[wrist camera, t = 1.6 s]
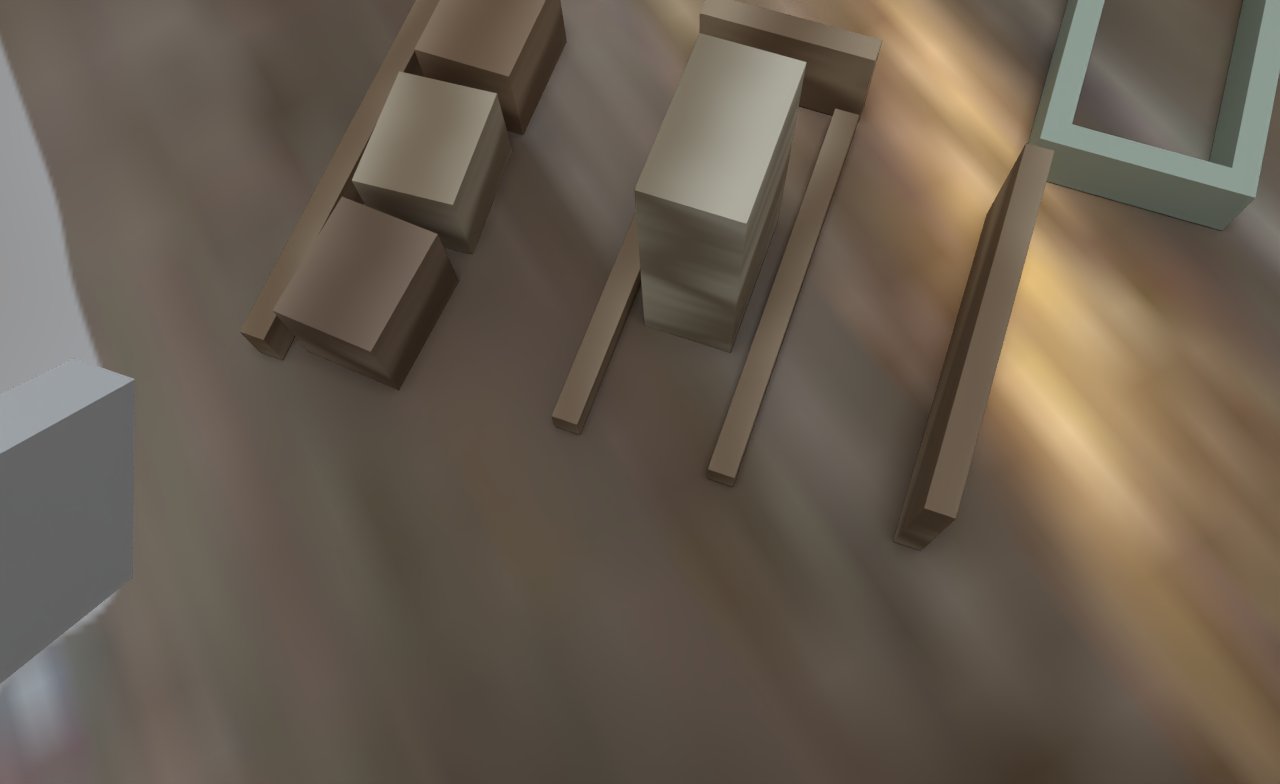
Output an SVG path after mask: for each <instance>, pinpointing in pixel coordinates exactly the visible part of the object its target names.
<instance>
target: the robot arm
mask: <svg viewBox="0 0 1280 784" xmlns="http://www.w3.org/2000/svg"><path fill="white" fill-rule="evenodd" d="M134 417H135V379H133V378H130V377H127V376H124V375H121V374H118V373H115V372H113V371H110V370H107V369H104V368H101V367H98V366H95V365H92V364H89V363H86V362H83V361H80V360H78V359H75V358H73V359H72V360H69V361H67V362H65V363H63V364H61V365H59V366H57V367H55V368H53V369H51V370H49V371H47V372H45V373H43V374H41V375H39V376H37V377H35V378H33V379H31V380H28V381H27V382H24V383H22V384H20V385H18V386H16V387H14V388H12V389H10V390H8V391H6V392H4V393H2V394H0V683H2V682H3V681H4V680H5V679H7V678H8V677H9V676H10V675H12V674H13V673H14V672H15V671H17V670H18V669H19V668H20V667H22V666H23V665H24V664H25V663H27V662H28V661H29V660H30V659H32V658H33V657H34V656H35V655H37V654H38V653H39V652H40V651H42V650H43V649H44V648H45V647H47V646H48V645H49V644H50V643H52V642H53V641H54V640H55V639H57V638H58V637H59V636H60V635H62V634H63V633H64V632H65V631H67V630H68V629H69V628H70V627H72V626H73V625H74V624H75V623H77V622H78V621H79V620H80V619H82V618H83V617H84V616H85V615H87V614H88V613H89V612H90V611H92V610H93V609H94V608H95V607H97V606H98V605H99V604H100V603H102V602H103V601H104V600H105V599H107V598H108V597H109V596H110V595H112V594H113V593H114V592H115V591H117V590H118V589H119V588H120V587H122V586H123V585H124V584H125V583H127V582H128V581H129V580H130V579H132V578H133V506H134Z"/></svg>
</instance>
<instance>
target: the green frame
mask: <svg viewBox="0 0 1280 784" xmlns="http://www.w3.org/2000/svg"><path fill="white" fill-rule="evenodd" d="M1104 1H1105V0H1068V3H1067V6H1066V10H1065V13H1064V17H1063V21H1062V24H1061V28H1060V31H1059V35H1058V39H1057V42H1056V46H1055V49H1054V53H1053V56H1052V60H1051V64H1050V67H1049V71H1048V74H1047V78H1046V82H1045V85H1044V89H1043V92H1042V96H1041V100H1040V103H1039V107H1038V110H1037V114H1036V117H1035V121H1034V125H1033V128H1032V132H1031V135H1030V139H1029V143H1028V144H1032V145H1035V146H1039V147H1042V148H1046V149H1050V150H1053V151H1054V155H1053V158H1052V162H1051V166H1050V170H1049V173H1048V177H1047V182H1051V183H1054V184H1058V185H1062V186H1065V187H1069V188H1072V189H1076V190H1079V191H1083V192H1086V193H1090V194H1094V195H1097V196H1101V197H1104V198H1108V199H1111V200H1115V201H1118V202H1122V203H1125V204H1129V205H1133V206H1136V207H1140V208H1143V209H1147V210H1150V211H1154V212H1157V213H1161V214H1164V215H1168V216H1172V217H1175V218H1179V219H1182V220H1186V221H1189V222H1193V223H1196V224H1200V225H1204V226H1207V227H1211V228H1214V229H1218V230H1221V231H1222V230H1223V229H1224V228H1225V227H1226V226H1227V225H1228V224H1229V223H1230V222H1231V221H1232V220H1233V219H1234V218H1235V217H1236V216H1237V215H1238V214H1239V213H1240V212H1242V211H1243V210H1244V209H1245V208H1246V207H1247V206H1248V205H1249V204H1250V203H1251V202H1252V201H1253V200H1254V199H1255V197H1256V192H1257V186H1258V181H1259V176H1260V171H1261V166H1262V160H1263V155H1264V150H1265V145H1266V139H1267V134H1268V129H1269V124H1270V118H1271V113H1272V108H1273V103H1274V98H1275V92H1276V87H1277V82H1278V77H1279V71H1280V0H1243V4H1242V8H1241V13H1240V18H1239V23H1238V27H1237V32H1236V37H1235V42H1234V46H1233V51H1232V56H1231V61H1230V65H1229V70H1228V75H1227V80H1226V84H1225V89H1224V94H1223V99H1222V103H1221V108H1220V113H1219V118H1218V122H1217V127H1216V132H1215V137H1214V141H1213V146H1212V151H1211V156H1210V160H1209V162H1208V161H1204V160H1201V159H1197V158H1193V157H1190V156H1186V155H1182V154H1179V153H1175V152H1171V151H1168V150H1164V149H1160V148H1157V147H1153V146H1149V145H1146V144H1142V143H1138V142H1135V141H1131V140H1127V139H1124V138H1120V137H1116V136H1113V135H1109V134H1105V133H1102V132H1098V131H1094V130H1091V129H1087V128H1083V127H1080V126H1076V125H1072V122H1073V118H1074V115H1075V111H1076V107H1077V103H1078V99H1079V96H1080V92H1081V88H1082V84H1083V80H1084V77H1085V73H1086V69H1087V65H1088V62H1089V58H1090V54H1091V50H1092V46H1093V43H1094V39H1095V35H1096V31H1097V27H1098V24H1099V20H1100V16H1101V12H1102V9H1103V5H1104Z"/></svg>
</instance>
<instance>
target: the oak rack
mask: <svg viewBox="0 0 1280 784" xmlns="http://www.w3.org/2000/svg"><path fill="white" fill-rule="evenodd" d="M439 1H440V0H416V1H415V3H414V5H413V7H412V9H411V10H410V12H409V14H408V16H407V18H406V20H405V22H404V24H403V25H402V27H401V29H400V31H399V33H398V35H397V37H396V39H395V41H394V42H393V44H392V46H391V48H390V50H389V52H388V54H387V56H386V57H385V59H384V61H383V63H382V65H381V67H380V69H379V71H378V72H377V74H376V76H375V78H374V80H373V82H372V84H371V86H370V88H369V89H368V91H367V93H366V95H365V97H364V99H363V101H362V103H361V104H360V106H359V108H358V110H357V112H356V114H355V116H354V118H353V119H352V121H351V123H350V125H349V127H348V129H347V131H346V133H345V135H344V136H343V138H342V140H341V142H340V144H339V146H338V148H337V150H336V151H335V153H334V155H333V157H332V159H331V161H330V163H329V165H328V166H327V168H326V170H325V172H324V174H323V176H322V178H321V180H320V182H319V183H318V185H317V187H316V189H315V191H314V193H313V195H312V197H311V198H310V200H309V202H308V204H307V206H306V208H305V210H304V212H303V213H302V215H301V217H300V219H299V221H298V223H297V225H296V227H295V229H294V230H293V232H292V234H291V236H290V238H289V240H288V242H287V244H286V245H285V247H284V249H283V251H282V253H281V255H280V257H279V259H278V260H277V262H276V264H275V266H274V268H273V270H272V272H271V274H270V276H269V277H268V279H267V281H266V283H265V285H264V287H263V289H262V291H261V292H260V294H259V296H258V298H257V300H256V302H255V304H254V306H253V307H252V309H251V311H250V313H249V315H248V317H247V319H246V321H245V323H244V324H243V326H242V328H241V330H240V333H241V334H242V335H243V336H244V337H245V338H246V339H247V340H248V341H249V342H250V343H251V344H252V345H253V346H254V347H255V348H256V349H257V350H258V351H259V352H261V353H264V354H267V355H270V356H273V357H276V358H279V359H282V360H283V359H284V357H285V355H286V353H287V351H288V349H289V347H290V345H291V343H292V341H293V339H294V337H295V336H294V334H293V333H292V332H291V331H290V330H289V329H288V328H287V327H286V325H285V324H284V323H283V322H282V321H281V320H280V319H279V317H278V316H277V315H276V314H275V313H274V312H273V311H272V310H273V309H274V307H275V305H276V304H277V302H278V301H279V299H280V297H281V296H282V294H283V292H284V291H285V289H286V287H287V286H288V284H289V282H290V281H291V279H292V278H293V276H294V274H295V273H296V271H297V269H298V268H299V266H300V264H301V263H302V261H303V259H304V258H305V256H306V255H307V253H308V251H309V250H310V248H311V246H312V245H313V243H314V241H315V240H316V238H317V236H318V235H319V233H320V232H321V230H322V228H323V227H324V225H325V223H326V222H327V220H328V218H329V217H330V215H331V214H332V212H333V210H334V209H335V207H336V205H337V204H338V202H339V200H340V199H341V197H345V198H347V199H350V200H352V201H355V202H357V203H360V204H363V200H362V198H361V196H360V194H359V193H358V191H357V189H356V187H355V185H354V184H353V182H352V179H353V176H354V174H355V172H356V169H357V167H358V165H359V163H360V160H361V158H362V156H363V153H364V151H365V149H366V146H367V144H368V142H369V140H370V137H371V135H372V133H373V130H374V128H375V126H376V124H377V121H378V119H379V117H380V114H381V112H382V110H383V107H384V105H385V103H386V101H387V98H388V96H389V94H390V91H391V89H392V87H393V85H394V82H395V80H396V78H397V75H398V73H399V71H400V72H404V73H409V74H413V75H417V76H422V77H424V75H423V72H422V69H421V66H420V64H419V61H418V58H417V56H416V53H415V50H414V49H415V47H416V45H417V43H418V41H419V39H420V37H421V35H422V33H423V32H424V30H425V28H426V26H427V24H428V22H429V20H430V18H431V16H432V14H433V12H434V10H435V9H436V7H437V5H438V3H439ZM700 33H702V34H706V35H709V36H713V37H716V38H720V39H724V40H727V41H731V42H735V43H738V44H742V45H746V46H749V47H753V48H757V49H760V50H764V51H768V52H771V53H775V54H778V55H782V56H786V57H789V58H793V59H797V60H800V61H804V62H807V63H806V68H805V74H804V79H803V85H802V90H801V96H800V101H799V106H801V107H804V108H808V109H811V110H815V111H819V112H822V113H826V114H829V115H833V117H832V120H831V123H830V125H829V128H828V131H827V134H826V137H825V139H824V142H823V145H822V148H821V151H820V154H819V156H818V159H817V162H816V165H815V168H814V171H813V173H812V176H811V179H810V182H809V185H808V188H807V190H806V193H805V196H804V199H803V202H802V204H801V207H800V210H799V213H798V216H797V219H796V221H795V224H794V227H793V230H792V233H791V236H790V238H789V241H788V244H787V247H786V250H785V252H784V255H783V258H782V261H781V264H780V267H779V269H778V272H777V275H776V278H775V281H774V284H773V286H772V289H771V292H770V295H769V298H768V300H767V303H766V306H765V309H764V312H763V315H762V317H761V320H760V323H759V326H758V329H757V332H756V334H755V337H754V340H753V343H752V346H751V349H750V351H749V354H748V357H747V360H746V363H745V365H744V368H743V371H742V374H741V377H740V380H739V382H738V385H737V388H736V391H735V394H734V397H733V399H732V402H731V405H730V408H729V411H728V413H727V416H726V419H725V422H724V425H723V428H722V430H721V433H720V436H719V439H718V442H717V445H716V447H715V450H714V453H713V456H712V459H711V461H710V464H709V467H708V472H707V478H708V479H711V480H714V481H717V482H720V483H723V484H726V485H729V486H732V487H733V485H734V482H735V479H736V476H737V473H738V471H739V468H740V465H741V462H742V459H743V456H744V453H745V450H746V447H747V444H748V441H749V439H750V436H751V433H752V430H753V427H754V424H755V421H756V418H757V415H758V412H759V409H760V407H761V404H762V401H763V398H764V395H765V392H766V389H767V386H768V383H769V380H770V378H771V375H772V372H773V369H774V366H775V363H776V360H777V357H778V354H779V351H780V348H781V346H782V343H783V340H784V337H785V334H786V331H787V328H788V325H789V322H790V319H791V316H792V314H793V311H794V308H795V305H796V302H797V299H798V296H799V293H800V290H801V287H802V284H803V282H804V279H805V276H806V273H807V270H808V267H809V264H810V261H811V258H812V255H813V252H814V250H815V247H816V244H817V241H818V238H819V235H820V232H821V229H822V226H823V223H824V220H825V218H826V215H827V212H828V209H829V206H830V203H831V200H832V197H833V194H834V191H835V188H836V186H837V183H838V180H839V177H840V174H841V171H842V168H843V165H844V162H845V159H846V156H847V154H848V151H849V148H850V145H851V142H852V139H853V136H854V133H855V130H856V126H857V123H858V122H859V119H860V116H861V113H862V110H863V107H864V104H865V101H866V97H867V94H868V90H869V86H870V83H871V79H872V76H873V72H874V68H875V65H876V61H877V58H878V54H879V51H880V47H881V43H882V40H880V39H877V38H873V37H869V36H866V35H862V34H858V33H854V32H851V31H847V30H843V29H839V28H836V27H832V26H828V25H824V24H821V23H817V22H813V21H810V20H806V19H802V18H798V17H795V16H791V15H787V14H783V13H780V12H776V11H772V10H768V9H765V8H761V7H757V6H754V5H750V4H746V3H742V2H739V1H735V0H705V3H704V5H703V7H702V10H701V12H700V32H699V34H700ZM1053 155H1054V151H1053V150H1050V149H1046V148H1042V147H1039V146H1035V145H1032V144H1028V143H1026V144H1025V146H1024V148H1023V150H1022V152H1021V153H1020V155H1019V157H1018V159H1017V161H1016V162H1015V164H1014V166H1013V168H1012V170H1011V171H1010V173H1009V175H1008V177H1007V179H1006V180H1005V182H1004V184H1003V186H1002V188H1001V189H1000V191H999V193H998V195H997V197H996V198H995V200H994V202H993V204H992V206H991V208H990V209H989V211H988V213H987V215H986V219H985V222H984V226H983V229H982V233H981V236H980V240H979V243H978V247H977V250H976V254H975V257H974V261H973V264H972V268H971V271H970V275H969V278H968V282H967V285H966V289H965V292H964V296H963V299H962V302H961V306H960V309H959V313H958V316H957V320H956V323H955V327H954V330H953V334H952V337H951V341H950V344H949V348H948V351H947V355H946V358H945V362H944V365H943V369H942V372H941V376H940V379H939V383H938V386H937V390H936V393H935V397H934V400H933V404H932V407H931V411H930V414H929V418H928V421H927V425H926V428H925V432H924V435H923V439H922V442H921V446H920V449H919V453H918V456H917V460H916V463H915V467H914V470H913V474H912V477H911V481H910V484H909V488H908V491H907V495H906V498H905V502H904V505H903V509H902V512H901V516H900V519H899V523H898V526H897V530H896V533H895V536H894V540H893V542H896V543H899V544H902V545H905V546H908V547H911V548H914V549H917V550H920V551H921V550H922V549H923V548H924V547H925V546H926V545H927V544H929V543H930V542H931V541H932V540H933V539H934V538H935V537H936V536H937V535H938V534H940V533H941V532H942V531H943V530H944V529H945V528H946V527H947V526H948V525H949V524H951V523H952V522H953V521H954V520H955V519H956V516H957V513H958V509H959V505H960V501H961V498H962V494H963V490H964V487H965V483H966V479H967V475H968V472H969V468H970V464H971V460H972V457H973V453H974V449H975V445H976V442H977V438H978V434H979V431H980V427H981V423H982V419H983V416H984V412H985V408H986V404H987V401H988V397H989V393H990V390H991V386H992V382H993V378H994V375H995V371H996V367H997V363H998V360H999V356H1000V352H1001V349H1002V345H1003V341H1004V337H1005V334H1006V330H1007V326H1008V322H1009V319H1010V315H1011V311H1012V307H1013V304H1014V300H1015V296H1016V293H1017V289H1018V285H1019V281H1020V278H1021V274H1022V270H1023V266H1024V263H1025V259H1026V255H1027V252H1028V248H1029V244H1030V240H1031V237H1032V233H1033V229H1034V225H1035V222H1036V218H1037V214H1038V211H1039V207H1040V203H1041V199H1042V196H1043V192H1044V188H1045V184H1046V181H1047V177H1048V173H1049V170H1050V166H1051V162H1052V158H1053ZM640 284H641V271H640V258H639V244H638V231H637V218H636V213H635V215H634V218H633V220H632V222H631V225H630V227H629V230H628V232H627V234H626V237H625V239H624V242H623V244H622V247H621V249H620V251H619V254H618V256H617V259H616V261H615V264H614V266H613V268H612V271H611V273H610V276H609V278H608V281H607V283H606V285H605V288H604V290H603V293H602V295H601V298H600V300H599V302H598V305H597V307H596V310H595V312H594V314H593V317H592V319H591V322H590V324H589V327H588V329H587V331H586V334H585V336H584V339H583V341H582V344H581V346H580V348H579V351H578V353H577V356H576V358H575V361H574V363H573V365H572V368H571V370H570V373H569V375H568V377H567V380H566V382H565V385H564V387H563V390H562V392H561V394H560V397H559V399H558V402H557V404H556V407H555V409H554V411H553V414H552V419H553V422H554V424H555V426H556V427H559V428H562V429H564V430H567V431H570V432H573V433H576V434H579V435H580V434H581V431H582V429H583V426H584V424H585V421H586V419H587V416H588V414H589V411H590V409H591V406H592V404H593V401H594V399H595V396H596V394H597V391H598V389H599V386H600V384H601V381H602V379H603V376H604V374H605V371H606V369H607V366H608V364H609V361H610V359H611V356H612V354H613V351H614V349H615V346H616V344H617V341H618V339H619V336H620V334H621V331H622V329H623V326H624V324H625V321H626V319H627V316H628V314H629V311H630V309H631V306H632V304H633V301H634V299H635V296H636V294H637V291H638V289H639V286H640Z"/></svg>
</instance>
